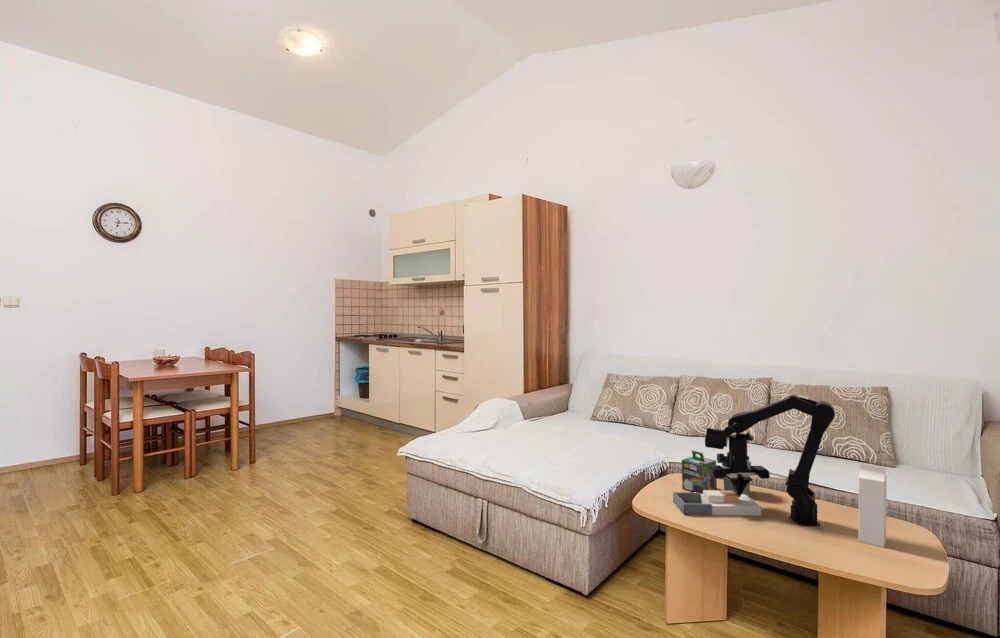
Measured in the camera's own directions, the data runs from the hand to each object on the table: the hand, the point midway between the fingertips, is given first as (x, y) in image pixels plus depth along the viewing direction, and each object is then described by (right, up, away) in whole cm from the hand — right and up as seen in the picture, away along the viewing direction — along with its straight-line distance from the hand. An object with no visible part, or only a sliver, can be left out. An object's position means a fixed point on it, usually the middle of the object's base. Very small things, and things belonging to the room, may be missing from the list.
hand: (738, 496), depth 167 cm
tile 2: (-3, -1, 0) cm, 4 cm away
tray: (-16, -4, 0) cm, 16 cm away
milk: (+28, -4, -24) cm, 37 cm away
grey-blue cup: (+7, -4, +16) cm, 18 cm away
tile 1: (-9, -1, 0) cm, 9 cm away
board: (-3, -4, 0) cm, 5 cm away
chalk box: (-6, -4, +18) cm, 20 cm away
